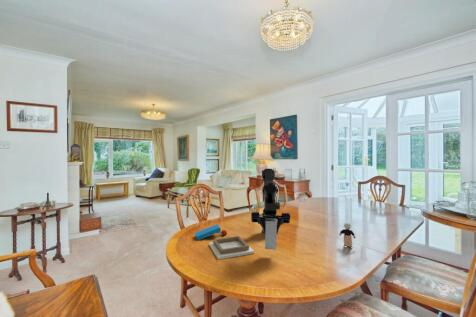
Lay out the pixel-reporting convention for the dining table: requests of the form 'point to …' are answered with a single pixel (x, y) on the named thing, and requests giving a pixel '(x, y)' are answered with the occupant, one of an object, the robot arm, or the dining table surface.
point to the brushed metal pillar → (271, 233)
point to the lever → (209, 232)
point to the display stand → (230, 247)
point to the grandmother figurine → (347, 235)
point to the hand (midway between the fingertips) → (270, 234)
